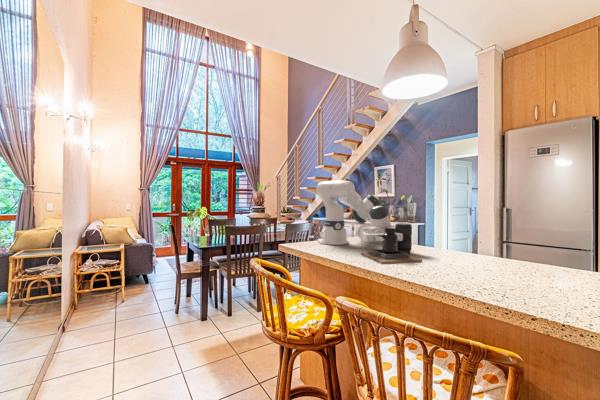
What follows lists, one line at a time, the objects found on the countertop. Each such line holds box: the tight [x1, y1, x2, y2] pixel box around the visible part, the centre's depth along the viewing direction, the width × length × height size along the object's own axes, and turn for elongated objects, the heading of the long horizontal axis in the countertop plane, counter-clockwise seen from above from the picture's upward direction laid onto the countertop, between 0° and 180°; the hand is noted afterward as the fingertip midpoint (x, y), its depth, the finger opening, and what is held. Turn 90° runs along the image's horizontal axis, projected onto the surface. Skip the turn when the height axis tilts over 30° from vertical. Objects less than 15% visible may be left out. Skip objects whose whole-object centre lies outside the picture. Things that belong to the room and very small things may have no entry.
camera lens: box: [394, 223, 413, 255], centre depth 146 cm, size 8×8×15 cm
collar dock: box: [360, 249, 423, 265], centre depth 133 cm, size 20×20×3 cm
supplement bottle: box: [381, 227, 398, 254], centre depth 133 cm, size 7×7×12 cm
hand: (390, 239), depth 132 cm, fingers closed on supplement bottle, 7 cm apart
